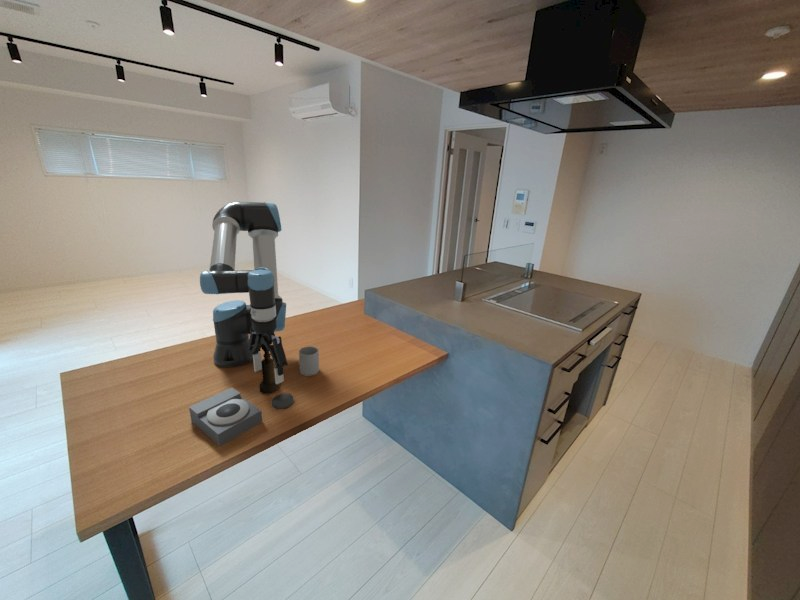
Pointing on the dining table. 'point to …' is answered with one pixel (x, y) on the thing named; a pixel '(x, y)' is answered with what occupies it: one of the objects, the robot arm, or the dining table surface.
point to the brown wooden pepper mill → (268, 374)
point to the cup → (309, 360)
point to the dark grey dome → (282, 401)
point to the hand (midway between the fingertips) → (268, 376)
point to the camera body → (225, 416)
